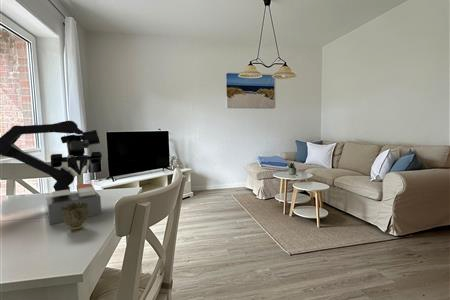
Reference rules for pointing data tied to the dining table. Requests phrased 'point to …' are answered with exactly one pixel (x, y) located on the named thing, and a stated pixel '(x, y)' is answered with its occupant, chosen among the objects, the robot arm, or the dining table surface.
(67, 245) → the dining table surface
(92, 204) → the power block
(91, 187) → the block
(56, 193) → the block
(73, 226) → the cup
